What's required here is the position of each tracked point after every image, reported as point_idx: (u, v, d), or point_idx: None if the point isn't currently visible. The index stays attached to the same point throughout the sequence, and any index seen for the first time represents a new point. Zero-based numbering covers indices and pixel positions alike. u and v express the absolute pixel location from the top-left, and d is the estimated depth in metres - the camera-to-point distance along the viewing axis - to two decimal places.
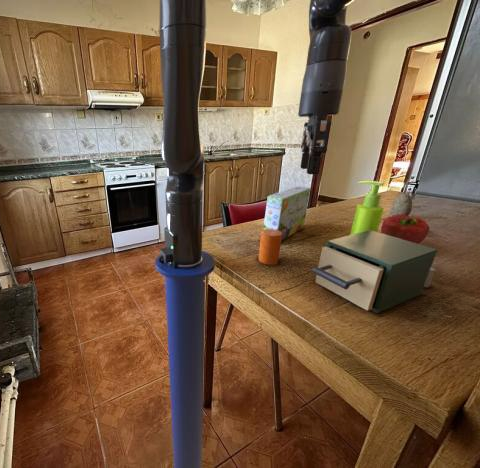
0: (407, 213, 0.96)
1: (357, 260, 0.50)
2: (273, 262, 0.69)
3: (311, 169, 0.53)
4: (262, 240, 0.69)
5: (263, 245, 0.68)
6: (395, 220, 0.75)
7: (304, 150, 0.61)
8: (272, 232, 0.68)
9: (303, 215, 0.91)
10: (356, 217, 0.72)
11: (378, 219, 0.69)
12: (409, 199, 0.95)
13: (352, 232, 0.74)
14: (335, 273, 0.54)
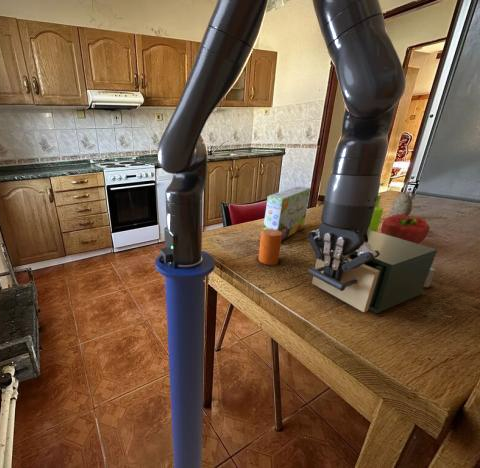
0: (407, 213, 0.96)
1: None
2: (273, 262, 0.69)
3: None
4: (262, 240, 0.69)
5: (263, 245, 0.68)
6: (395, 220, 0.75)
7: (330, 264, 0.50)
8: (272, 232, 0.68)
9: (303, 215, 0.91)
10: None
11: (378, 219, 0.69)
12: (409, 199, 0.95)
13: None
14: None
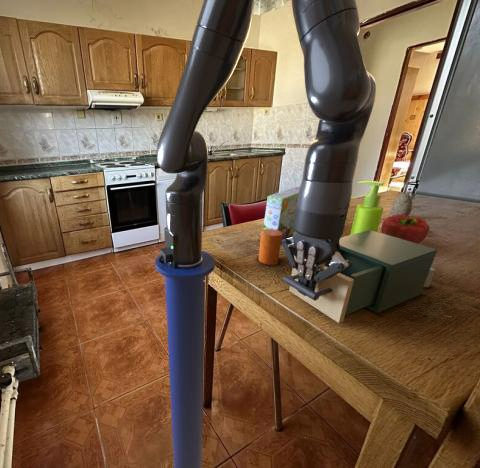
0: (407, 213, 0.96)
1: None
2: (273, 262, 0.69)
3: None
4: (262, 240, 0.69)
5: (263, 245, 0.68)
6: (395, 220, 0.75)
7: (304, 274, 0.48)
8: (272, 232, 0.68)
9: None
10: (356, 217, 0.72)
11: (378, 219, 0.69)
12: (409, 199, 0.95)
13: (352, 232, 0.74)
14: None
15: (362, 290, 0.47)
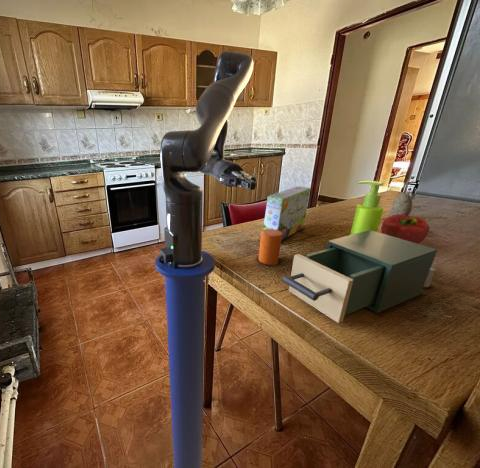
0: (407, 213, 0.96)
1: (328, 269, 0.47)
2: (273, 262, 0.69)
3: None
4: (262, 240, 0.69)
5: (263, 245, 0.68)
6: (395, 220, 0.75)
7: None
8: (272, 232, 0.68)
9: (303, 215, 0.91)
10: (356, 217, 0.72)
11: (378, 219, 0.69)
12: (409, 199, 0.95)
13: (352, 232, 0.74)
14: (307, 282, 0.51)
15: (362, 290, 0.47)
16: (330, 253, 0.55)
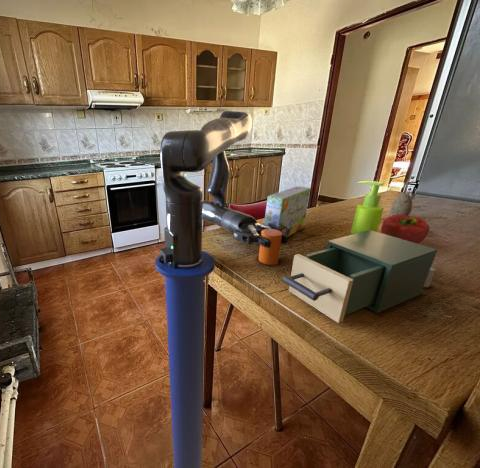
0: (407, 213, 0.96)
1: (328, 269, 0.47)
2: (273, 262, 0.69)
3: None
4: None
5: None
6: (395, 220, 0.75)
7: None
8: (272, 232, 0.68)
9: (303, 215, 0.91)
10: (356, 217, 0.72)
11: (378, 219, 0.69)
12: (409, 199, 0.95)
13: (352, 232, 0.74)
14: (307, 282, 0.51)
15: (362, 290, 0.47)
16: (330, 253, 0.55)
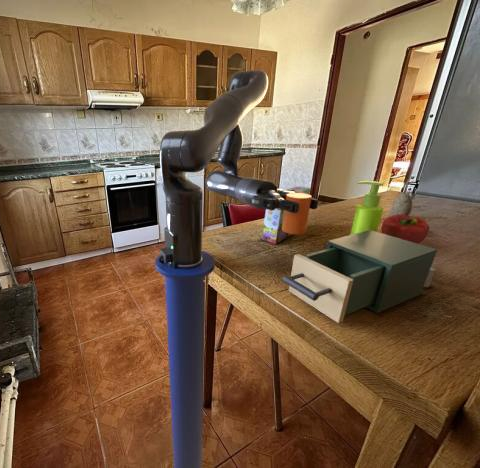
0: (407, 213, 0.96)
1: (328, 269, 0.47)
2: (301, 231, 0.58)
3: None
4: None
5: None
6: (395, 220, 0.75)
7: None
8: (299, 195, 0.58)
9: None
10: (356, 217, 0.72)
11: (378, 219, 0.69)
12: (409, 199, 0.95)
13: (352, 232, 0.74)
14: (307, 282, 0.51)
15: (362, 290, 0.47)
16: (330, 253, 0.55)
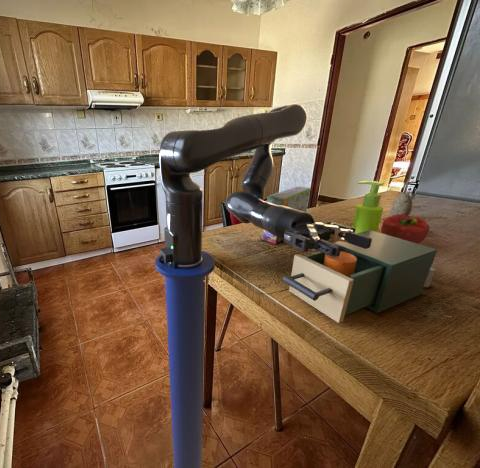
0: (407, 213, 0.96)
1: (328, 269, 0.47)
2: None
3: None
4: (328, 267, 0.50)
5: None
6: (395, 220, 0.75)
7: None
8: (341, 256, 0.50)
9: None
10: (356, 217, 0.72)
11: (378, 219, 0.69)
12: (409, 199, 0.95)
13: None
14: (307, 282, 0.51)
15: (362, 290, 0.47)
16: None
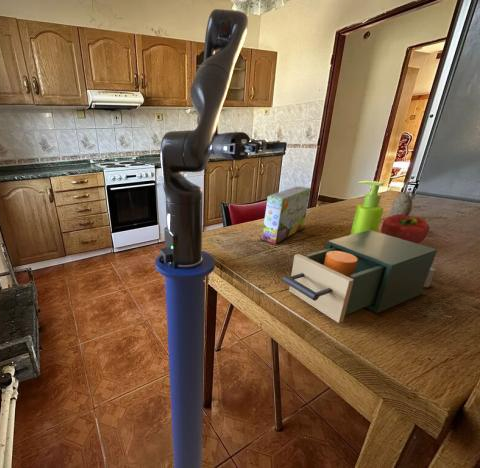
0: (407, 213, 0.96)
1: (328, 269, 0.47)
2: None
3: None
4: (328, 267, 0.50)
5: None
6: (395, 220, 0.75)
7: None
8: (342, 256, 0.50)
9: (303, 215, 0.91)
10: (356, 217, 0.72)
11: (378, 219, 0.69)
12: (409, 199, 0.95)
13: (352, 232, 0.74)
14: (307, 282, 0.51)
15: (362, 290, 0.47)
16: None
